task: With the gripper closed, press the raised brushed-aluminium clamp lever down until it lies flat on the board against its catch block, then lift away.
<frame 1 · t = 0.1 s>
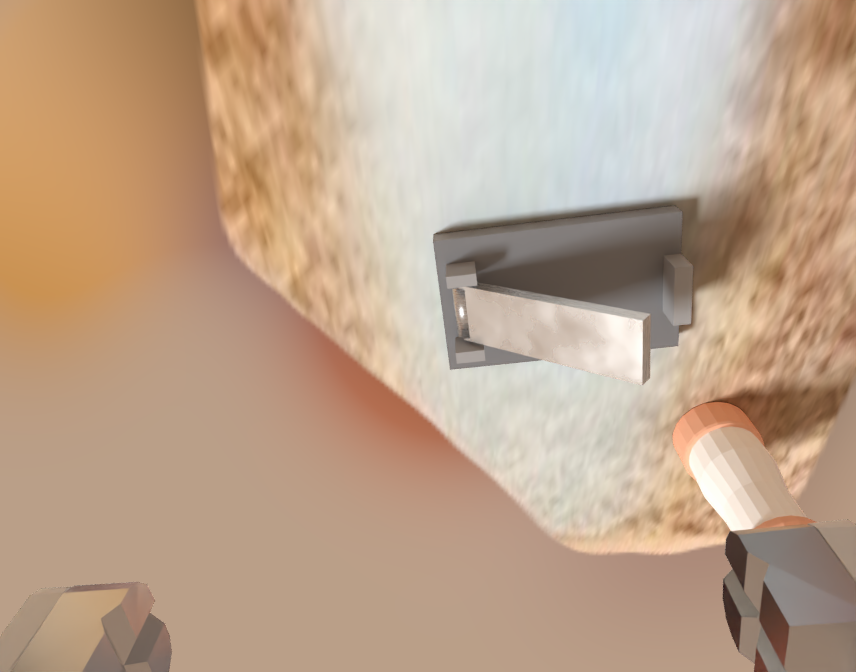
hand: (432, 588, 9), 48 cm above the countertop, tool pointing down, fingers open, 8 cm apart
pepper shaker: (710, 432, 65), on the countertop
clamp board: (556, 286, 58), on the countertop
clamp lever: (542, 327, 52), point 8 cm above the countertop, hinge at 40.0°
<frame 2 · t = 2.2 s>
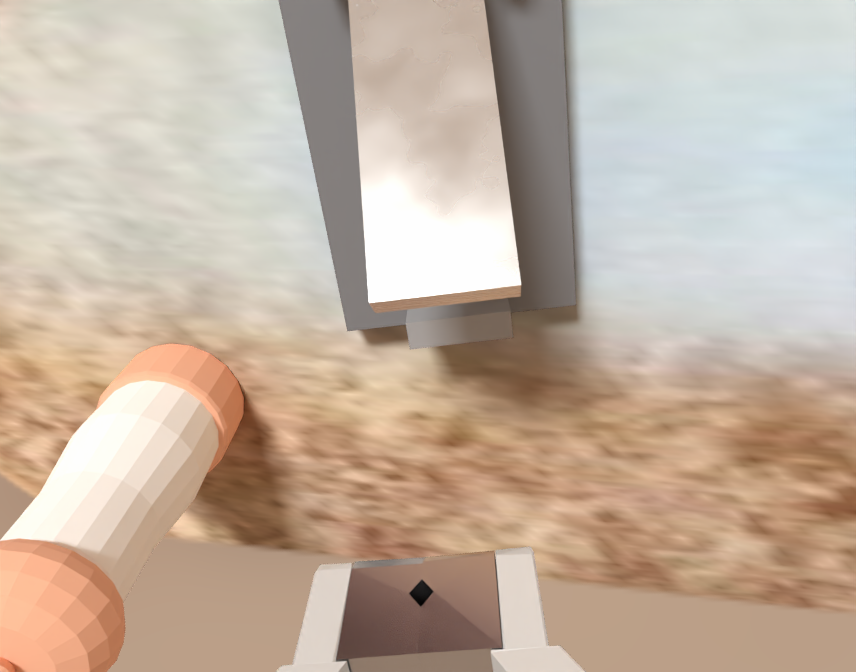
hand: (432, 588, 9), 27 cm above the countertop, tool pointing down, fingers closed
pepper shaker: (184, 396, 40), on the countertop
clamp board: (435, 114, 33), on the countertop
clamp lever: (424, 80, 25), point 8 cm above the countertop, hinge at 40.0°
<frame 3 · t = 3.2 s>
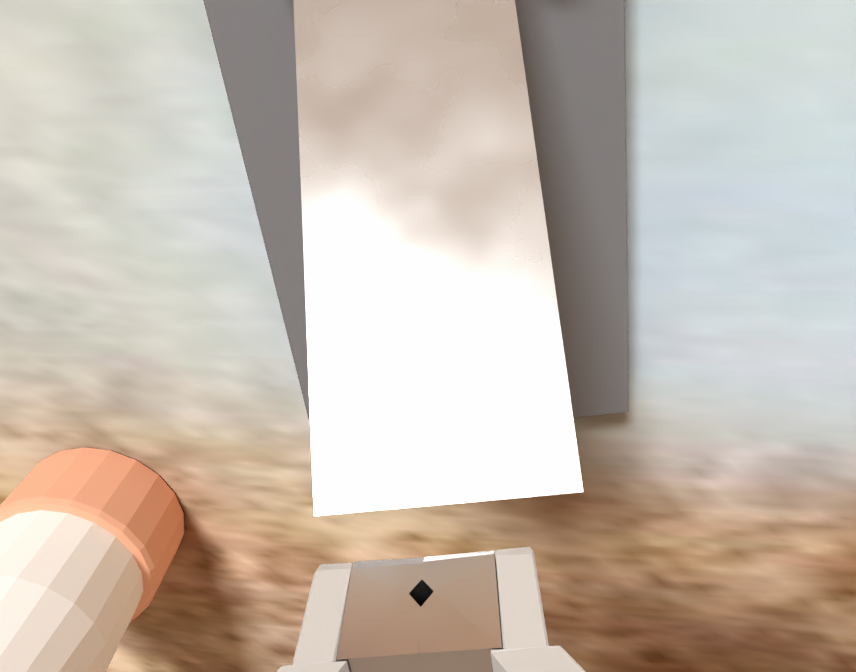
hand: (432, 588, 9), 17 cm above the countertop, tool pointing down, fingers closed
pepper shaker: (107, 510, 31), on the countertop
clamp board: (434, 152, 23), on the countertop
clamp lever: (414, 117, 15), point 8 cm above the countertop, hinge at 40.0°
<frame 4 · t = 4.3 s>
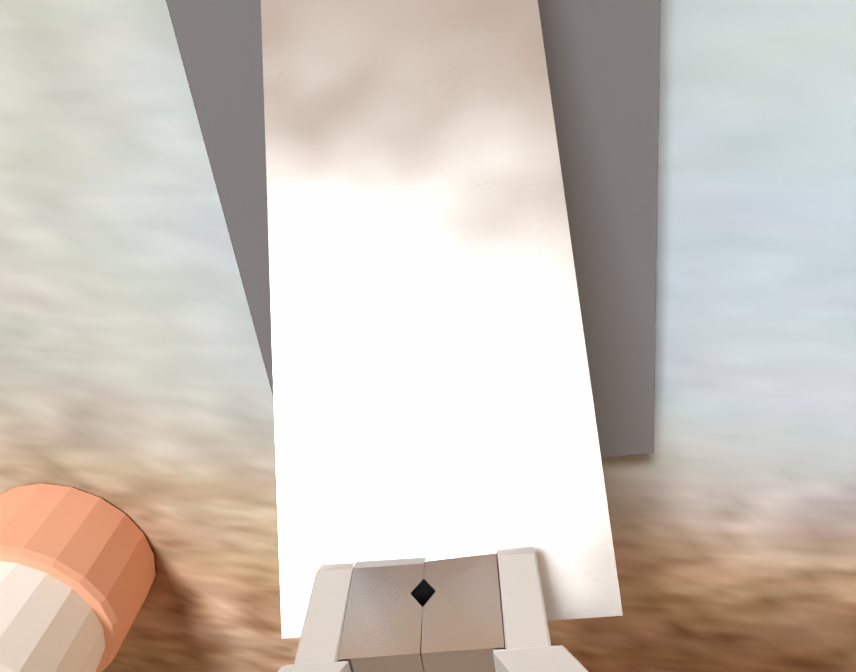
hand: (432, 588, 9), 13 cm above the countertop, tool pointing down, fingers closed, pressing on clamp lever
pepper shaker: (69, 550, 28), on the countertop
clamp board: (434, 157, 20), on the countertop
clamp lever: (409, 125, 12), point 8 cm above the countertop, hinge at 38.3°, touching gripper
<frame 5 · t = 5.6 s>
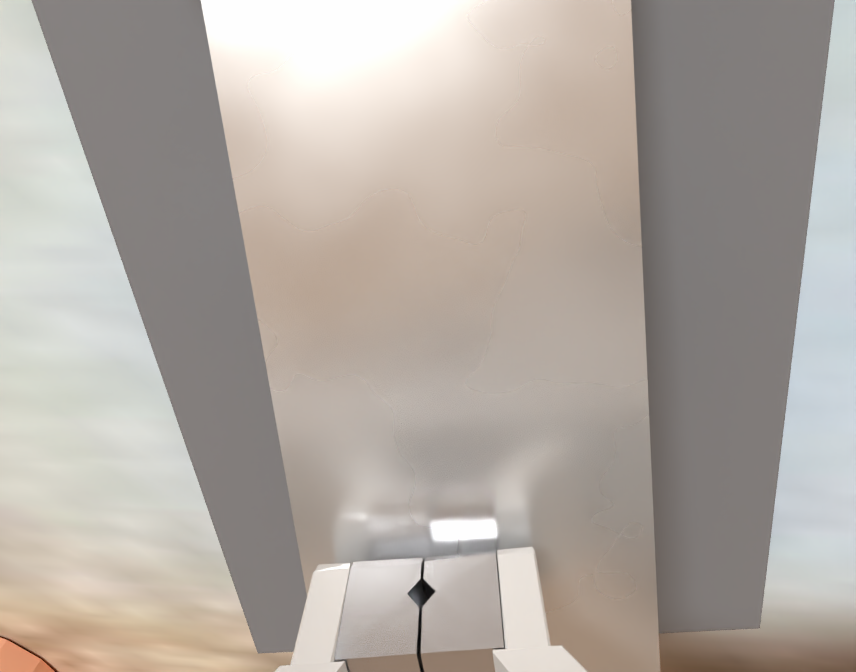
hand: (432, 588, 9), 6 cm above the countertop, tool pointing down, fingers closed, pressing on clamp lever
clamp board: (453, 212, 14), on the countertop
clamp lever: (443, 261, 9), point 5 cm above the countertop, hinge at 12.5°, touching gripper
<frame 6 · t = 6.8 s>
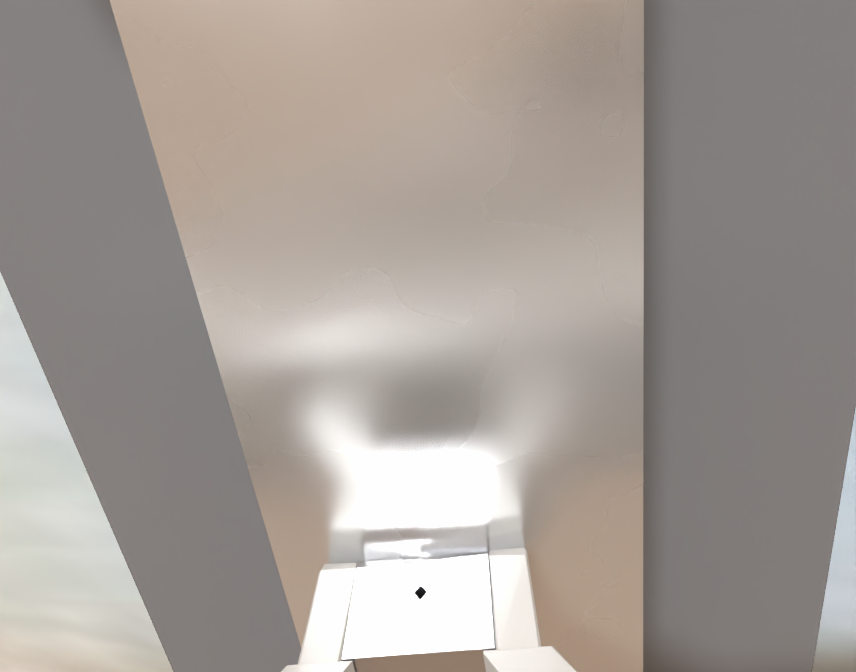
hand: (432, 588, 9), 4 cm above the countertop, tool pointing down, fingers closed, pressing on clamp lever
clamp board: (437, 272, 11), on the countertop
clamp lever: (426, 326, 8), point 3 cm above the countertop, hinge at 0.9°, touching gripper
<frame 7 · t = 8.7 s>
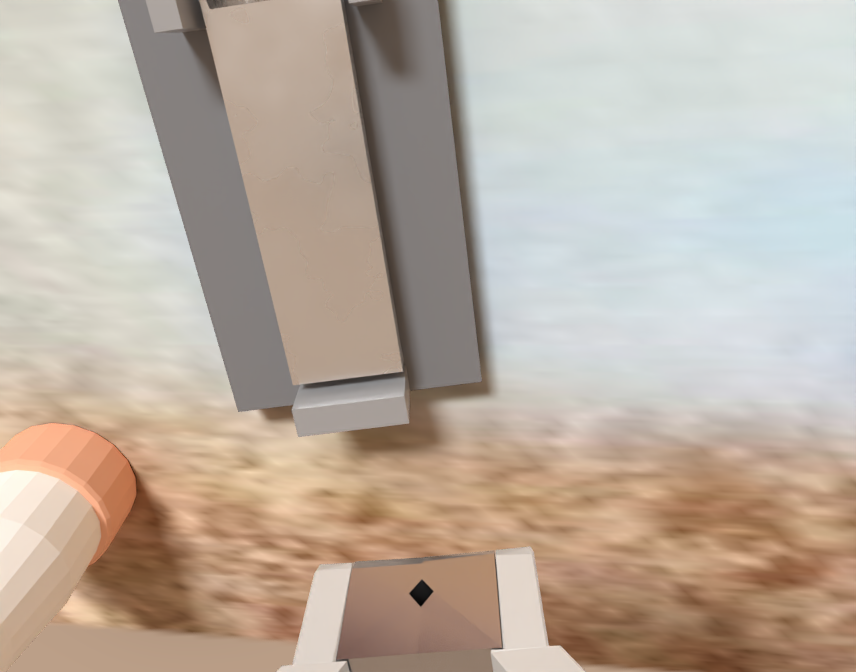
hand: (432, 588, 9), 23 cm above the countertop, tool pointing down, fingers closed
pepper shaker: (71, 477, 37), on the countertop
clamp board: (323, 183, 30), on the countertop
clamp lever: (311, 188, 27), point 3 cm above the countertop, hinge at 0.9°
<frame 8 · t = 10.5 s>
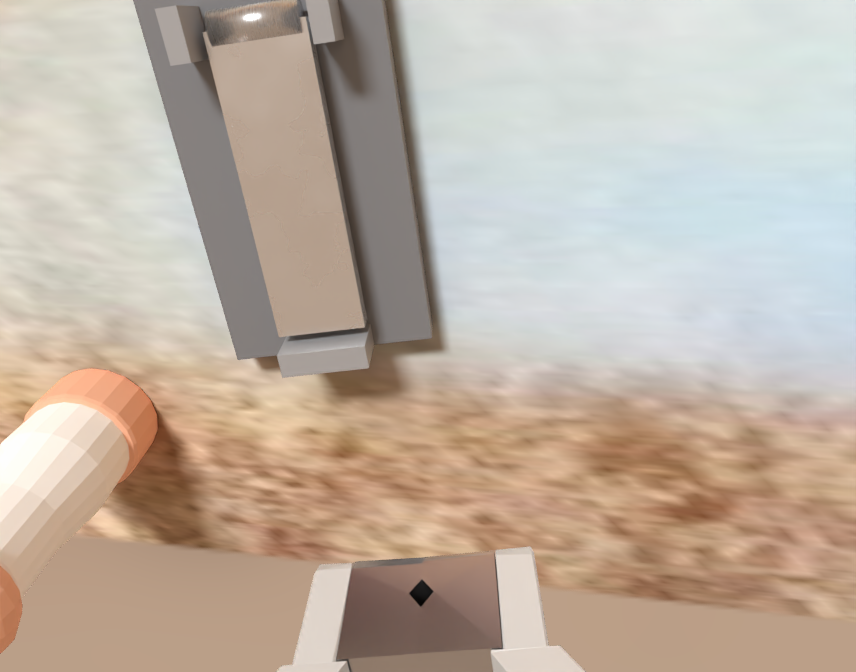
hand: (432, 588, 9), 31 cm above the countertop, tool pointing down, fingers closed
pepper shaker: (105, 413, 46), on the countertop
clamp board: (304, 177, 38), on the countertop
clamp lever: (291, 181, 35), point 3 cm above the countertop, hinge at 0.9°
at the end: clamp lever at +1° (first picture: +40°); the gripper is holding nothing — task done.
